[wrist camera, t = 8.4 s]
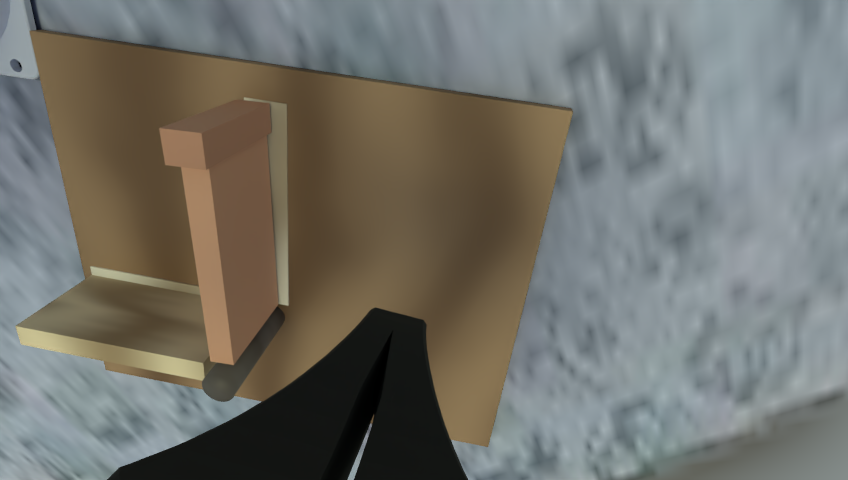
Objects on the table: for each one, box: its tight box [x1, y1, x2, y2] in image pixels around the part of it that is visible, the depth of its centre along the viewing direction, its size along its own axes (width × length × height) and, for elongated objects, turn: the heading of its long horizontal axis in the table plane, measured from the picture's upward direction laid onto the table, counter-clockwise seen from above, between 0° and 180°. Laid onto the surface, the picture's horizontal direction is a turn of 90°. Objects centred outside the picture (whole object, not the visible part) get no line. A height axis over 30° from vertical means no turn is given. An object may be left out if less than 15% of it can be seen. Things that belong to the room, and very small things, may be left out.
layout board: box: [29, 30, 573, 447], centre depth 23 cm, size 22×18×1 cm
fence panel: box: [159, 100, 278, 365], centre depth 20 cm, size 10×1×5 cm, turn 176°
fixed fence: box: [16, 275, 285, 402], centre depth 23 cm, size 10×1×5 cm, turn 84°
